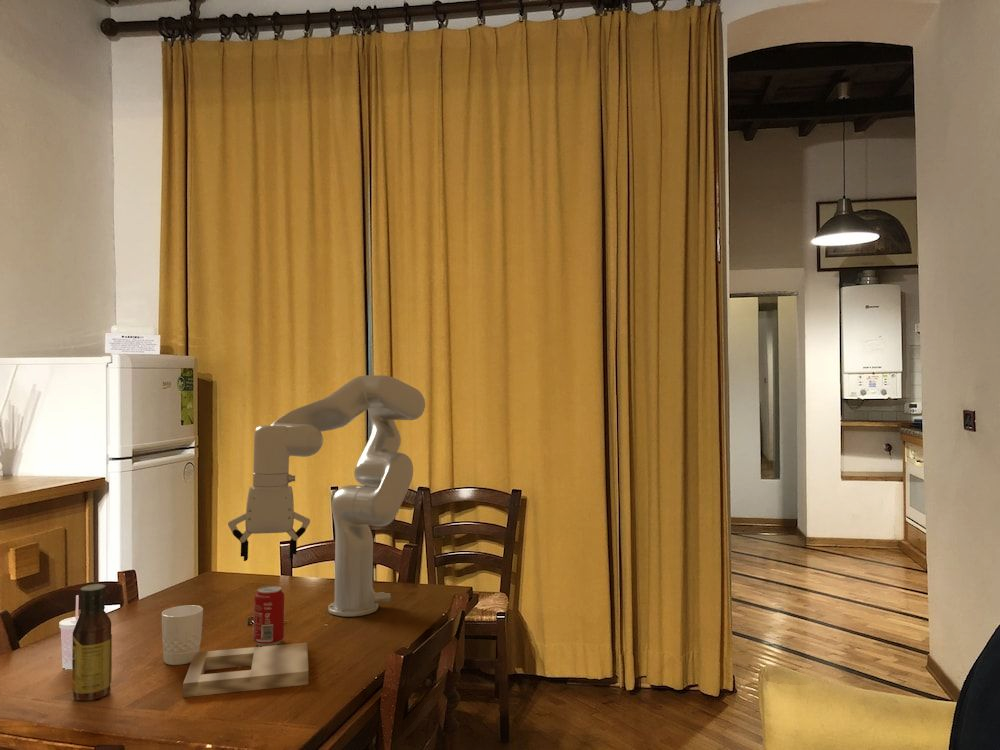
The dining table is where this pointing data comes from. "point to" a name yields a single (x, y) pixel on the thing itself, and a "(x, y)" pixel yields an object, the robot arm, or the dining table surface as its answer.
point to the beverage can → (268, 616)
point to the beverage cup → (68, 637)
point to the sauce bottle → (92, 646)
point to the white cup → (181, 633)
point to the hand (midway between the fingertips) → (268, 558)
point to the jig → (267, 670)
